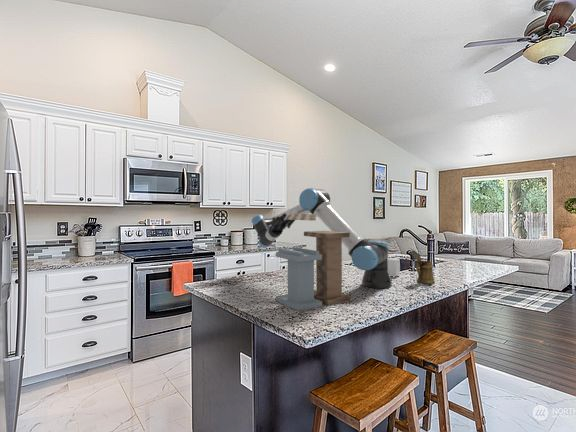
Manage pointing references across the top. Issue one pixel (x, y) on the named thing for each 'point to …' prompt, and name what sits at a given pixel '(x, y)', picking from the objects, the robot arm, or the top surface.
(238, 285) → the top surface
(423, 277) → the wooden mug
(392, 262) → the cup
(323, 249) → the tall bracket
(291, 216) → the rail
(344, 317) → the top surface
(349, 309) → the top surface
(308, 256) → the low bracket
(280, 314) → the top surface
